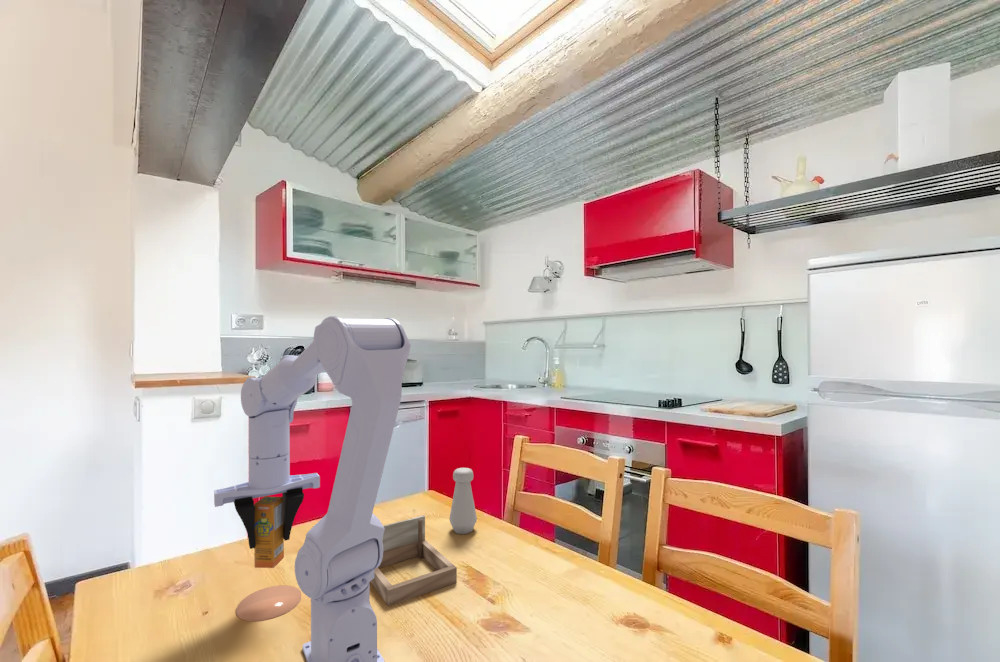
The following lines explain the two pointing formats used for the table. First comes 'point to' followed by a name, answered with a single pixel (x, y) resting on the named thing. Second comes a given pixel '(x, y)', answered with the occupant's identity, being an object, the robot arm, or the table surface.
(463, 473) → the salt shaker
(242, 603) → the saucer
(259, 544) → the supplement box
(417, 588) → the brown open rectangular frame
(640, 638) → the table surface
